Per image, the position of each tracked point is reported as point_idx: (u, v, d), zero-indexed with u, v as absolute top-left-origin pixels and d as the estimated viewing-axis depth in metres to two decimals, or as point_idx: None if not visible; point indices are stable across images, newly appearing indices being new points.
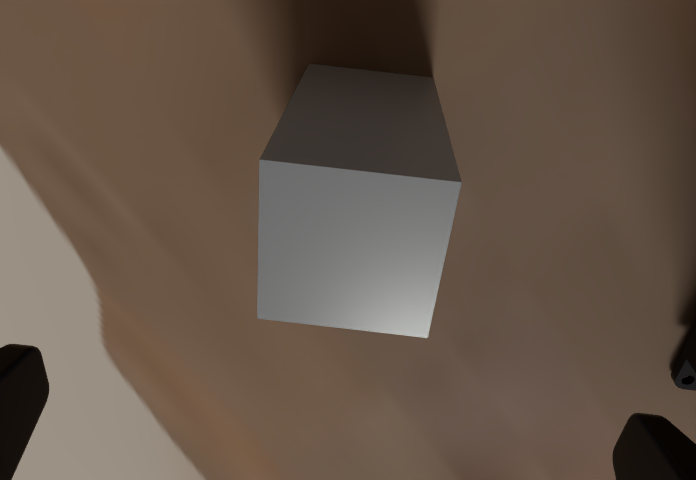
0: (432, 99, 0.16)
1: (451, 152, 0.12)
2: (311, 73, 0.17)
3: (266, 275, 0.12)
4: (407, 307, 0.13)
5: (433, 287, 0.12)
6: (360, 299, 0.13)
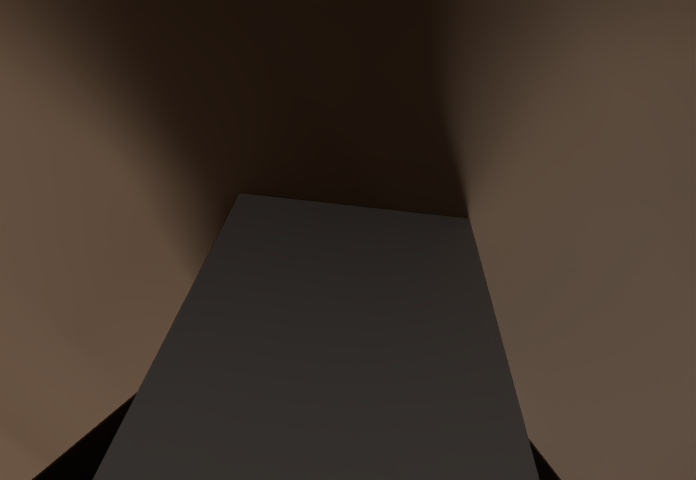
0: (478, 305, 0.08)
1: None
2: (236, 227, 0.09)
3: None
4: None
5: None
6: None
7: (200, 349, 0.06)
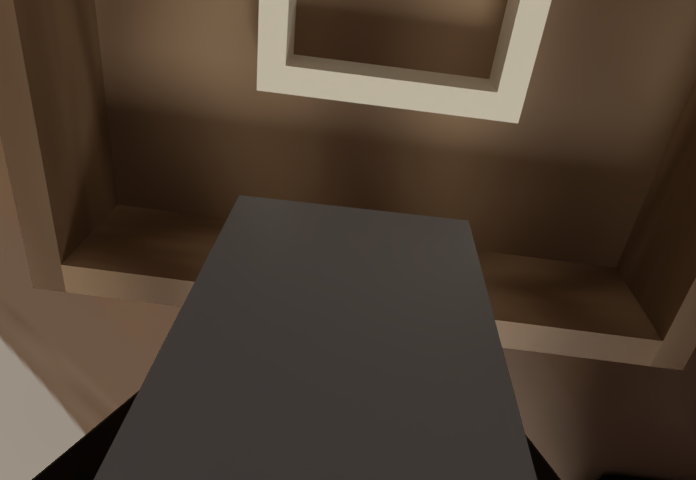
0: (477, 307, 0.08)
1: None
2: (236, 230, 0.09)
3: None
4: None
5: None
6: None
7: (199, 352, 0.06)
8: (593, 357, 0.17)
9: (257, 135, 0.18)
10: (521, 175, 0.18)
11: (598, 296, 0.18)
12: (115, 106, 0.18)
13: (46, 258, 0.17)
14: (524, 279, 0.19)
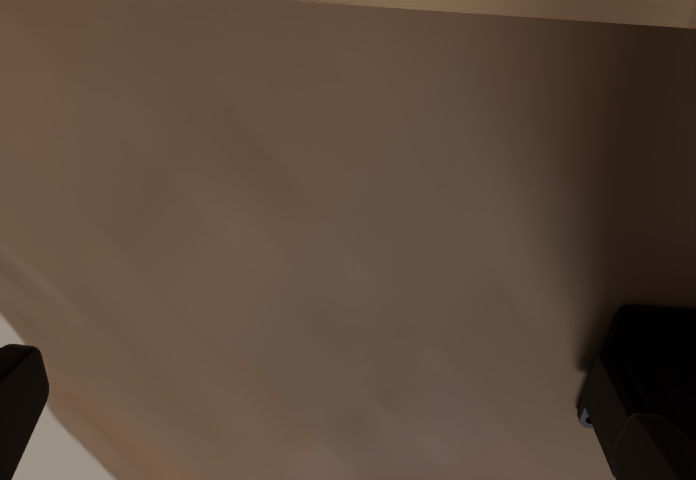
0: None
1: None
2: None
3: None
4: None
5: None
6: None
7: None
8: (602, 19, 0.12)
9: None
10: None
11: None
12: None
13: None
14: None
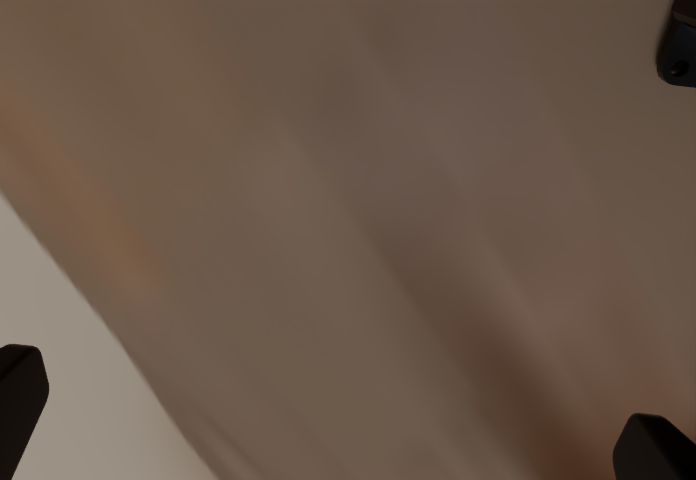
0: None
1: None
2: None
3: None
4: None
5: None
6: None
7: None
8: None
9: None
10: None
11: None
12: None
13: None
14: None
